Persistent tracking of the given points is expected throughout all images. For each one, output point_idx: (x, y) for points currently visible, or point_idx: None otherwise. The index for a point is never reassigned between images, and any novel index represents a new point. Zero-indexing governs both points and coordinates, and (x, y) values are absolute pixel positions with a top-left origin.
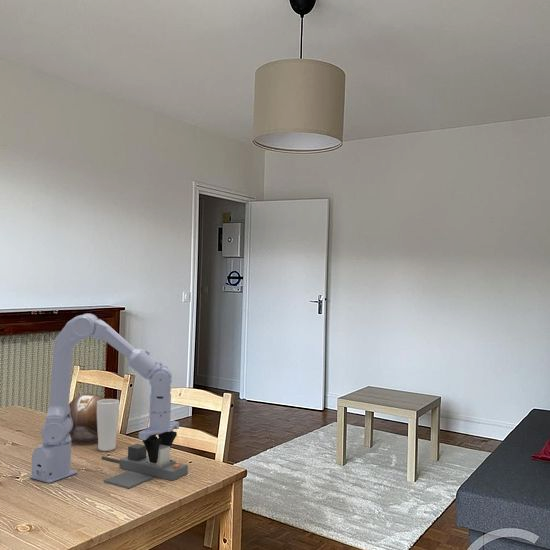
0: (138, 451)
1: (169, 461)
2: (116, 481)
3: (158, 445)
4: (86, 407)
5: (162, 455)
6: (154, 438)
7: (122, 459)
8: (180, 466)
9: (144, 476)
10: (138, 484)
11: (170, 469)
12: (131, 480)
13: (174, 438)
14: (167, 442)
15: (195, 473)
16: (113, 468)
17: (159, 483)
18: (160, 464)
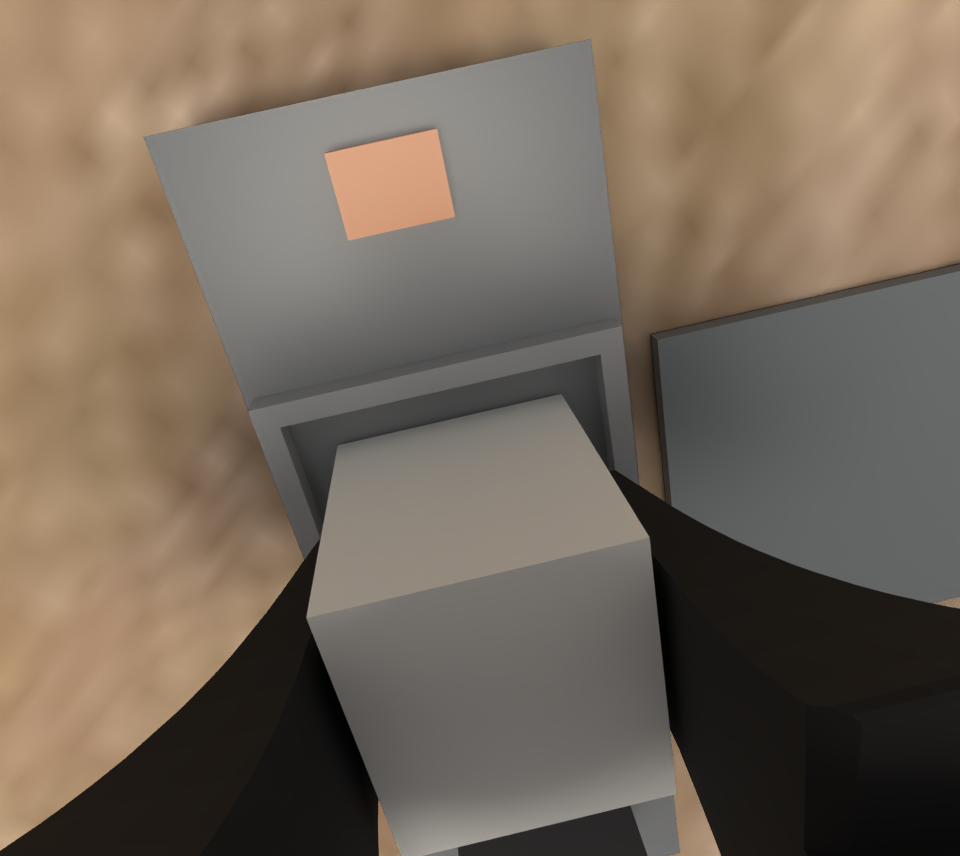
0: (625, 841)
1: (343, 453)
2: None
3: (766, 616)
4: None
5: (546, 482)
6: (957, 852)
7: (666, 838)
8: (304, 171)
9: (712, 419)
10: (908, 276)
11: (533, 171)
12: (889, 408)
13: (82, 799)
14: (312, 754)
15: (64, 50)
16: (687, 787)
17: (732, 115)
18: (562, 407)
